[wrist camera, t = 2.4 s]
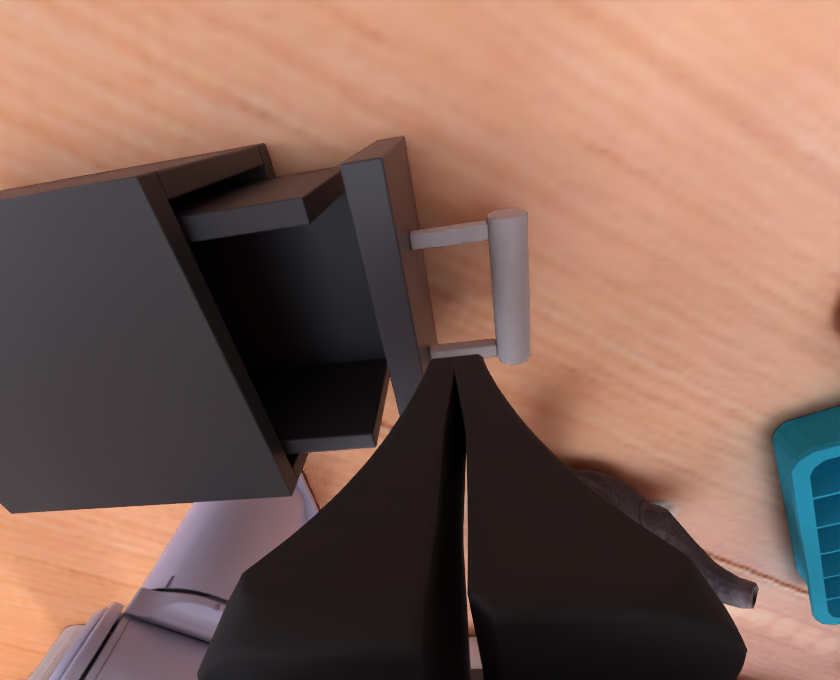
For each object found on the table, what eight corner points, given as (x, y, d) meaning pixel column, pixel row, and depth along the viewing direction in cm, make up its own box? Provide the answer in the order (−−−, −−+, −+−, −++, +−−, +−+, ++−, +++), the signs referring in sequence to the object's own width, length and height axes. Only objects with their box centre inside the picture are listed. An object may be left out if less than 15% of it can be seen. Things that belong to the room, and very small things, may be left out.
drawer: (508, 117, 16) (545, 129, 10) (518, 356, 22) (545, 452, 16) (130, 183, 18) (-22, 224, 12) (230, 385, 24) (161, 479, 18)
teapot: (701, 533, 30) (804, 708, 21) (503, 573, 34) (523, 733, 25) (657, 333, 21) (798, 490, 13) (401, 419, 26) (379, 581, 17)
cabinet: (265, 142, 18) (136, 175, 10) (339, 374, 24) (292, 497, 17) (0, 190, 19) (-274, 248, 12) (135, 394, 26) (10, 514, 18)
